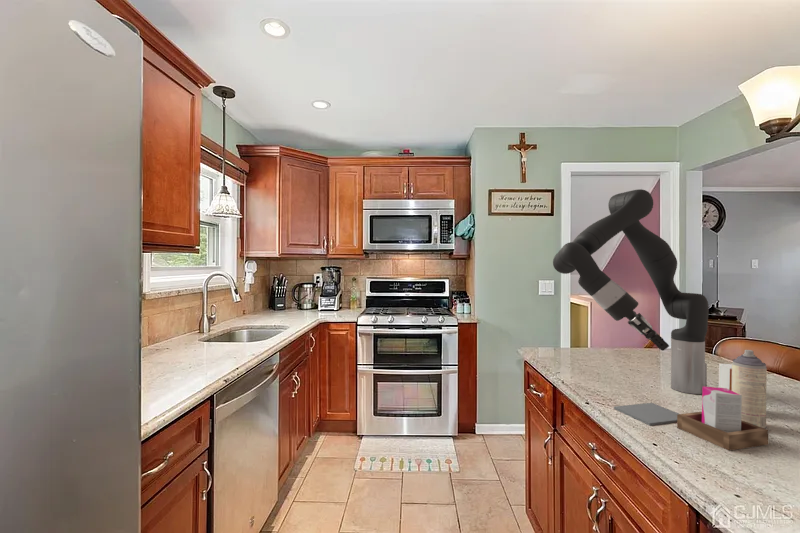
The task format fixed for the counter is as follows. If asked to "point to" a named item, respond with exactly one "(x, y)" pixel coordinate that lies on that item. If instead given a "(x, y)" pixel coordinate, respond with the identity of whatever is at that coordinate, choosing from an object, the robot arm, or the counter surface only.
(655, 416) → the slate mat
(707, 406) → the supplement box
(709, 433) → the tray
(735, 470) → the counter surface
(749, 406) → the aerosol can
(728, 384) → the small box
